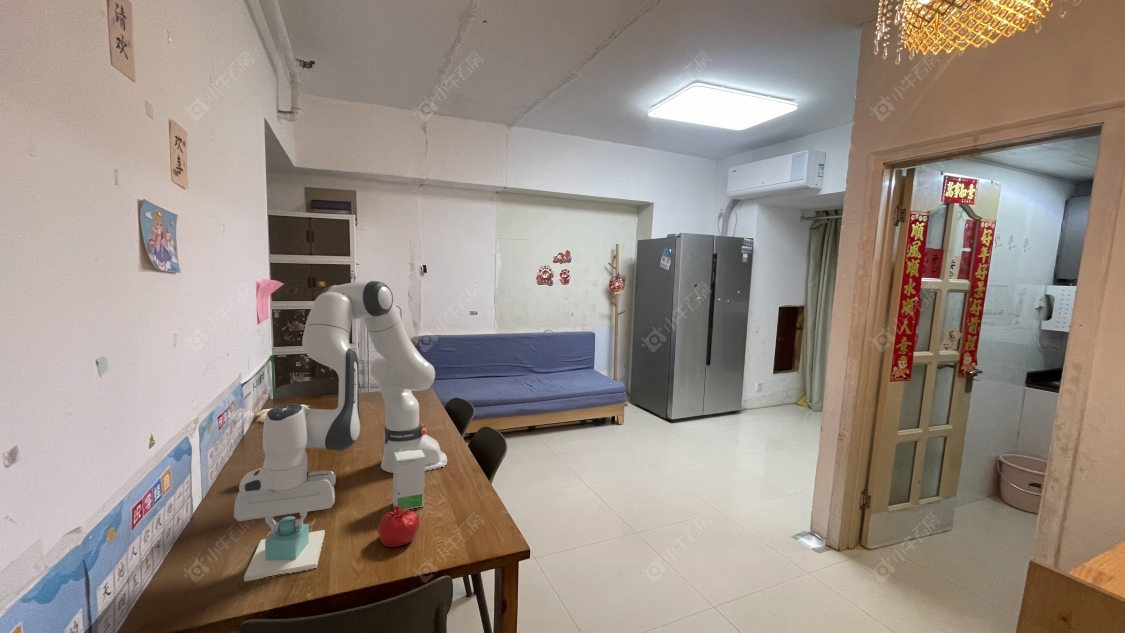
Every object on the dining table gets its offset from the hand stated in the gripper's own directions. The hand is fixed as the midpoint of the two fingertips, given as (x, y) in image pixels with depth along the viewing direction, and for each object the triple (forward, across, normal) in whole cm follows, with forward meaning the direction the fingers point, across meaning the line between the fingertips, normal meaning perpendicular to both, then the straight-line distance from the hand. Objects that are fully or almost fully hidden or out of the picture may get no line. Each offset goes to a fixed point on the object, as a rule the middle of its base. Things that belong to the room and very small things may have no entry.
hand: (287, 529), depth 106 cm
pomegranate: (+7, -25, +1) cm, 26 cm away
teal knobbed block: (+5, 0, 0) cm, 5 cm away
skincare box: (+7, -28, -16) cm, 33 cm away
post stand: (+7, 0, 0) cm, 7 cm away
